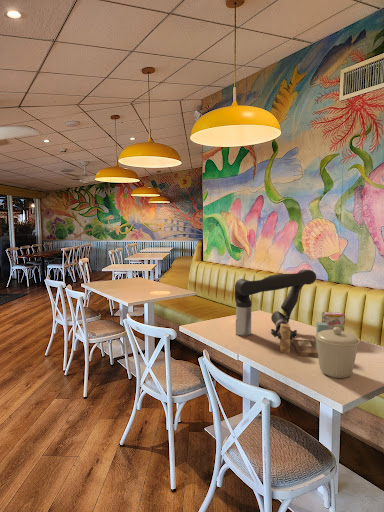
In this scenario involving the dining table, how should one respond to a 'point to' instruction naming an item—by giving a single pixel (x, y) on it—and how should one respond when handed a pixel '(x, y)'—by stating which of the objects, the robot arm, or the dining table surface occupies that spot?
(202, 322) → the dining table surface
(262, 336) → the dining table surface
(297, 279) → the robot arm
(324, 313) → the candy bar box
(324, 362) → the canister
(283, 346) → the oak post
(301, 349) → the frame base
